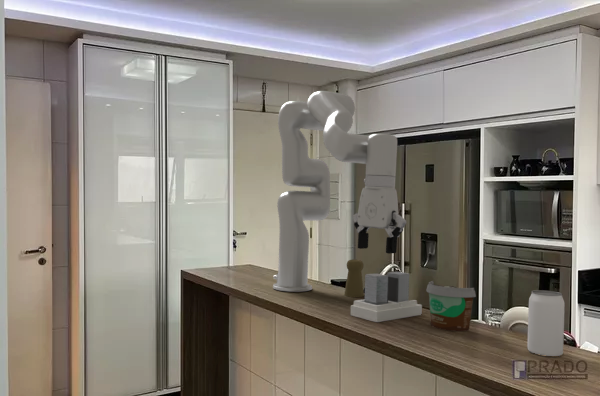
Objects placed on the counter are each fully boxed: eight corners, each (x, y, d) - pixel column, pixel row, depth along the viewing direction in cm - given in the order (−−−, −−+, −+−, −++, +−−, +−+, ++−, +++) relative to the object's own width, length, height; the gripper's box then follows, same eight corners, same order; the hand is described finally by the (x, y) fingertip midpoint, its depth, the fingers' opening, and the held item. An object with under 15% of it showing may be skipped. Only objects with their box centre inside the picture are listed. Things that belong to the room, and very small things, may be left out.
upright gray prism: (364, 305, 134) (365, 274, 134) (376, 304, 137) (377, 273, 137) (375, 308, 131) (377, 276, 131) (388, 307, 134) (389, 275, 134)
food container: (414, 324, 127) (415, 282, 127) (430, 321, 131) (431, 280, 131) (459, 335, 118) (460, 290, 118) (474, 331, 122) (476, 287, 122)
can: (567, 353, 106) (569, 293, 106) (557, 359, 101) (559, 296, 101) (533, 346, 110) (535, 288, 110) (522, 352, 105) (524, 292, 105)
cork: (363, 297, 160) (364, 261, 160) (343, 296, 161) (344, 260, 161) (364, 294, 166) (365, 259, 166) (345, 293, 167) (346, 258, 167)
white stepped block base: (350, 315, 134) (351, 273, 135) (395, 308, 145) (396, 270, 145) (376, 322, 127) (378, 278, 128) (421, 314, 138) (423, 274, 138)
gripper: (345, 181, 138) (342, 247, 139) (396, 183, 125) (392, 255, 125) (365, 182, 143) (362, 246, 143) (416, 184, 130) (413, 254, 130)
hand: (376, 250), depth 134 cm, fingers open, 9 cm apart
